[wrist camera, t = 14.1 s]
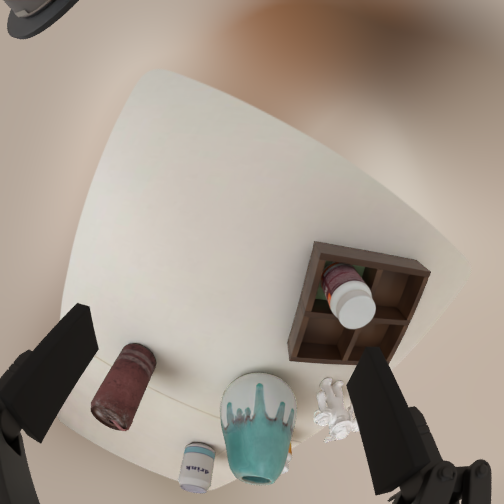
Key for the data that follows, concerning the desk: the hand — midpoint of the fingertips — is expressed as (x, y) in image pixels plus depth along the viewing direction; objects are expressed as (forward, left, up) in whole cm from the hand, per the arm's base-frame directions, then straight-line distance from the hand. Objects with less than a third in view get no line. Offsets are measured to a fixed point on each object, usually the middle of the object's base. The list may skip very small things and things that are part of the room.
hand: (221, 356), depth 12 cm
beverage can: (+52, -3, -22) cm, 56 cm away
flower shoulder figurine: (+24, +18, -22) cm, 37 cm away
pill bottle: (+4, +12, -21) cm, 25 cm away
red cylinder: (+24, -14, -22) cm, 35 cm away
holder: (+8, +16, -22) cm, 28 cm away
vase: (+26, +6, -22) cm, 35 cm away
